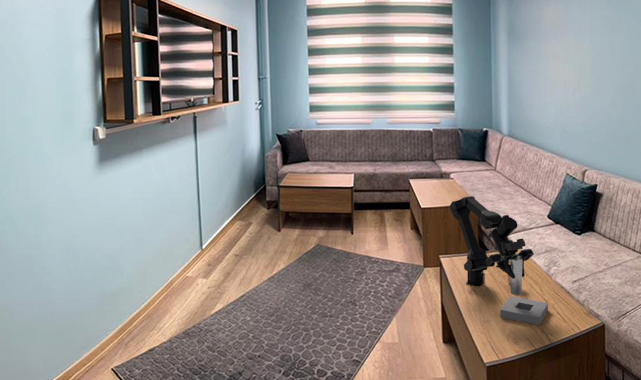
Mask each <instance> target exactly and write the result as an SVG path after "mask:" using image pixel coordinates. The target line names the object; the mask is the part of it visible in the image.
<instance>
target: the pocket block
mask: <svg viewBox="0 0 641 380" xmlns="http://www.w3.org/2000/svg"><path fill="white" fill-rule="evenodd" d="M548 311H549V303H548V302H544V301H538V300H534V299H533V300H532V299H528V298H521V297H518V296H517V297H516V296H513V295H512V296H511V295H510V296H509V298H508V299H507V300H506V302H505V303H504V304H503V306H502V307H501V308H500V312H499V313H500V314H499V315H500V316H499V317H500V318H503V319H508V320H513V321H517V322H522V323H527V324H531V325H532V324H533V325H536V326H540V325H541V323H542V321H543V319H544V318H545V316H546V314H547V313H548Z"/></svg>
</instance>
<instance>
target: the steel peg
mask: <svg viewBox="0 0 641 380" xmlns="http://www.w3.org/2000/svg"><path fill="white" fill-rule="evenodd" d="M522 261H523V259H521V258H512V259H511V269H512V272H513V274H514V276H515V278H514V279H512V278H511V285H510V294H511V295H512V296H522V294H523V292H522V291H523V277H522Z"/></svg>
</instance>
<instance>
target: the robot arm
mask: <svg viewBox="0 0 641 380" xmlns="http://www.w3.org/2000/svg"><path fill="white" fill-rule="evenodd" d="M449 210H450V211H451V214H452V217H453V218H455V219H456V220H457V221H458V223H459V227H460V229H461V232H462V235H463V239H464V241H465V244H466V247H467V250H468V251H467V254H466V262H465V263H464V264H463V268H464V269H463V270H465V271H467V281H466V283H465V284H466V285H471V286H476V287H482V286H483V284H484V283H485V282H486V279H485V278H486V274H485V273H484V271H487V270H488V268H492V267H494V266H495V268H498V269H500V270H501V271H502V272H503V271H504V272H503V273H505V274H507V276H508V275H509V276H510V277H511V278H512V279H514V278H515V276H514V274H513V272H512V269H511V267H510V265H509V264H510V263H509V260H511V259H512V258H521V259H523V261H522V278H524V277H525V275H526V274H525V266H524V265H525V264H524V263H525V262H526V261H528V260H530V259H531V258H532V257H533V256H534V255H535V253H534V251H533V250H532V249H531V248H525V249H524V248H523V247H526V245H527V244H526V242H525V240H524V238H518V239H516V241H513V240H511V239H510V238H509V236H510V235H511V234H512V233H514V231H515V230H516V229H517V228H518V222H517V220H515V218H513V217H510V216H509V214H504V215H503V216H501V214H499V213H498V212H495V211H492V210H489V209H487V208H486V207H485V206H484V205H483V204H482V203H480V202H479V201H478V200H477V199H476V198H475V196H472V195H471V196H464V197H462V198H460V199H457V200H453V201H451V203H450V204H449ZM471 212H472V213H473V214H474V215H475V217H478V219H480V220H479V221H480V224H481V226H482V227H483V228H484V229H485V230H489V233H488V238H489V239H492V241H493V244H494V245H495V247H494V250H495V251H498V253H494V254H490V255H489V256H488V254H487V251H486V250H485V249H482V248H481V247H480V244H479V242H478V239H477V237H476V233H475V231H474V230H475V229H474V228H473V225H472V222H471V219H470V215H471ZM491 229H492V230H491ZM519 250H521V251H519ZM495 264H496V265H495Z"/></svg>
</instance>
